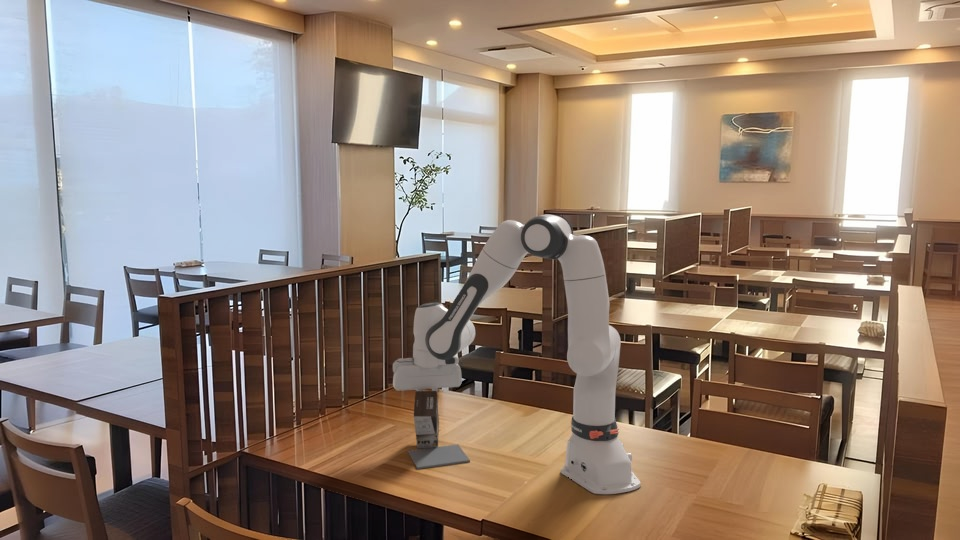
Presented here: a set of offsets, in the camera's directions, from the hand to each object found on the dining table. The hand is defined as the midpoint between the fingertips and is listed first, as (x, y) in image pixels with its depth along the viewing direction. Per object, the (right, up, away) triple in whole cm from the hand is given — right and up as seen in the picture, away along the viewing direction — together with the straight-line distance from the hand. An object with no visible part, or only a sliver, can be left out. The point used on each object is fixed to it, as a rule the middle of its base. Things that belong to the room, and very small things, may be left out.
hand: (426, 402), depth 199 cm
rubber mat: (+4, -14, -7) cm, 16 cm away
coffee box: (0, -10, +2) cm, 11 cm away
